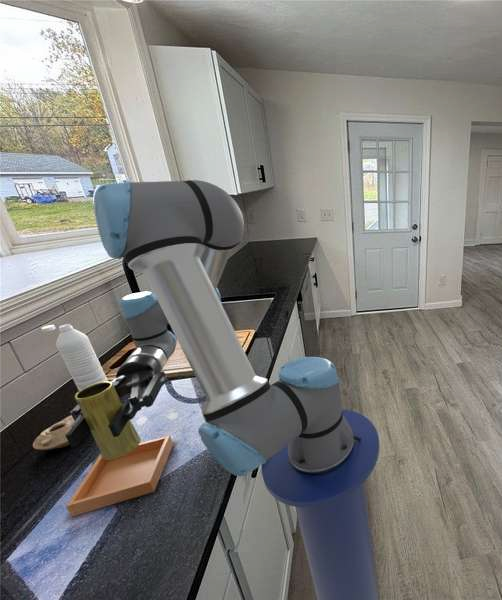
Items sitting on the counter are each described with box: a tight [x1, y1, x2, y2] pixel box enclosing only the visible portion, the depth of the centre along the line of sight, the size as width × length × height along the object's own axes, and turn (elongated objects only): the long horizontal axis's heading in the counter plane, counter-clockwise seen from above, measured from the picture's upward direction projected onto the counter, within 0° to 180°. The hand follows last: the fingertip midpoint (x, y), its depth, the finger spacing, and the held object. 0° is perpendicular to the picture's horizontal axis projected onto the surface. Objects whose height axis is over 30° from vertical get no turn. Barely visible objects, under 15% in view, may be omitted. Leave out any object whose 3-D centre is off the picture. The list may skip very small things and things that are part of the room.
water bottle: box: [40, 323, 109, 392], centre depth 90 cm, size 9×6×25 cm
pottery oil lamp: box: [32, 414, 75, 451], centre depth 79 cm, size 9×12×7 cm
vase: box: [74, 381, 142, 460], centre depth 60 cm, size 6×6×14 cm
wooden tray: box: [65, 434, 174, 517], centre depth 68 cm, size 14×14×3 cm
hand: (92, 435), depth 56 cm, fingers closed on vase, 5 cm apart
